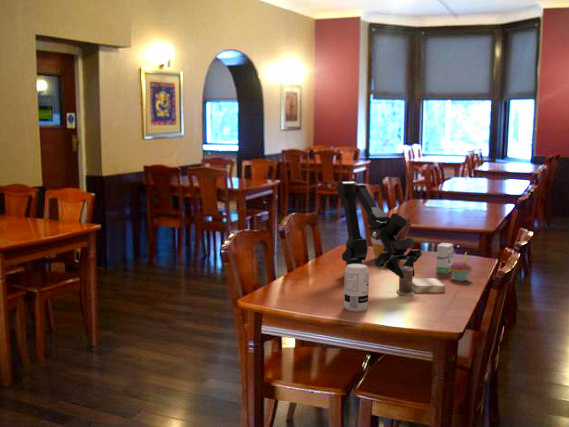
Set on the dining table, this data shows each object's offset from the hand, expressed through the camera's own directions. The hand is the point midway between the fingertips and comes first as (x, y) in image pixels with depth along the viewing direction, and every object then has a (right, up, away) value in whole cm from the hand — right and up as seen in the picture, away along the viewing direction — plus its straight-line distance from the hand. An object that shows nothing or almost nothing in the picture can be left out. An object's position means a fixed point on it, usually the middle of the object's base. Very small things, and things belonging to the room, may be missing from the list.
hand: (408, 277), depth 235 cm
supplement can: (-21, -9, -17) cm, 29 cm away
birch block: (+9, -6, +10) cm, 14 cm away
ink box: (+23, -2, +38) cm, 44 cm away
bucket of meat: (+3, +2, +61) cm, 61 cm away
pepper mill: (-1, -6, +2) cm, 7 cm away
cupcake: (+26, -4, +24) cm, 35 cm away
